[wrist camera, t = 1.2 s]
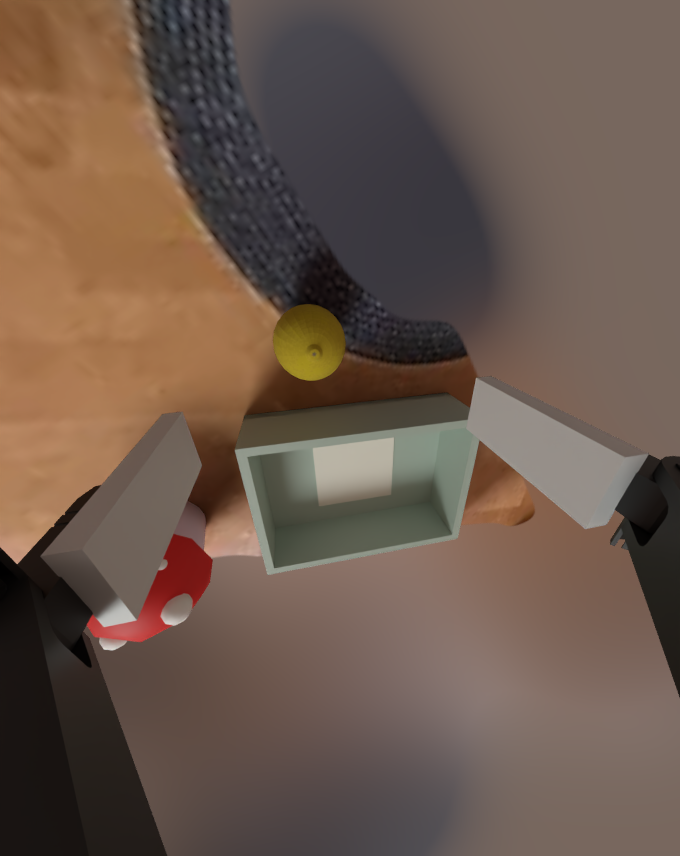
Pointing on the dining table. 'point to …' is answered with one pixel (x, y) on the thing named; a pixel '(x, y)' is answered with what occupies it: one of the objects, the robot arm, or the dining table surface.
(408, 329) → the dining table surface
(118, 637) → the mushroom
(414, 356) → the dining table surface
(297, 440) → the crate
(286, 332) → the lemon
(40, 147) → the dining table surface
